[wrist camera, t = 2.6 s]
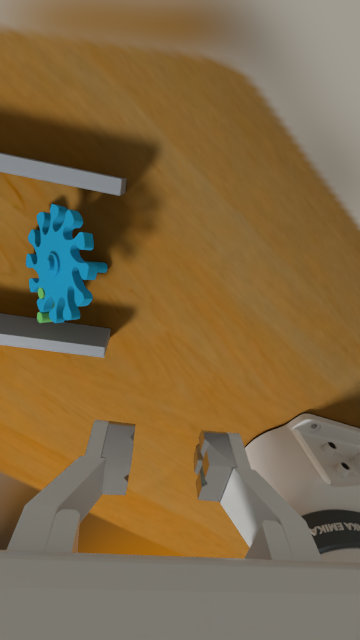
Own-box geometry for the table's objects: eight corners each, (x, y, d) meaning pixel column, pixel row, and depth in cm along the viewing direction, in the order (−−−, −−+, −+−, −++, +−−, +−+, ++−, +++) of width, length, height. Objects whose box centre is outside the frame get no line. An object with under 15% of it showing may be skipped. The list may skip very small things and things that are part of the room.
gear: (36, 179, 24) (97, 248, 20) (96, 195, 29) (156, 254, 25) (8, 285, 30) (53, 357, 26) (63, 284, 34) (108, 345, 30)
